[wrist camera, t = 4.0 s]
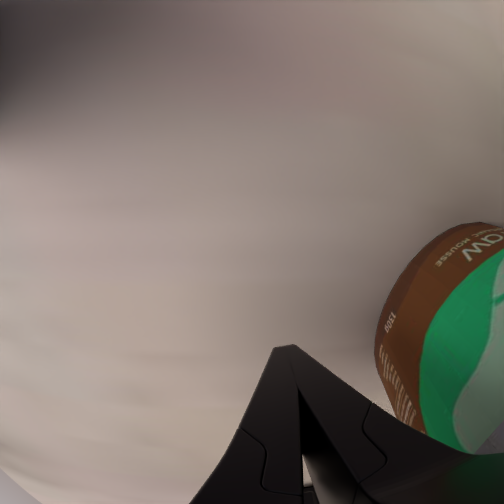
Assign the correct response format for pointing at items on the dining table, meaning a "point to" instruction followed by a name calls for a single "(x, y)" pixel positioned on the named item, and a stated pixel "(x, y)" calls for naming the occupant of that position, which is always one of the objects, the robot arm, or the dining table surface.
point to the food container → (448, 340)
